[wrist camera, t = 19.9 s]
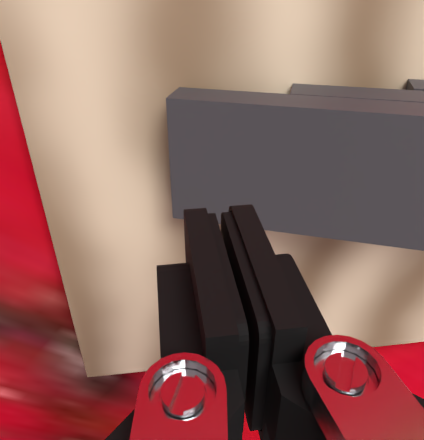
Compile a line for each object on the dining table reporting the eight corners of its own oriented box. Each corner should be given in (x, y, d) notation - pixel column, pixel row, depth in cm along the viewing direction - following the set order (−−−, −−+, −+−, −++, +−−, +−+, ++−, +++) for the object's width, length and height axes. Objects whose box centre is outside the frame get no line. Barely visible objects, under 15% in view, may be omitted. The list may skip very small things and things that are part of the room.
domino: (172, 218, 17) (429, 251, 15) (165, 98, 14) (476, 119, 12) (183, 199, 18) (421, 228, 16) (179, 86, 16) (461, 105, 14)
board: (89, 363, 25) (87, 378, 24) (-5, -19, 14) (-16, -18, 13) (483, 322, 27) (495, 335, 26) (655, -23, 17) (684, -22, 16)
